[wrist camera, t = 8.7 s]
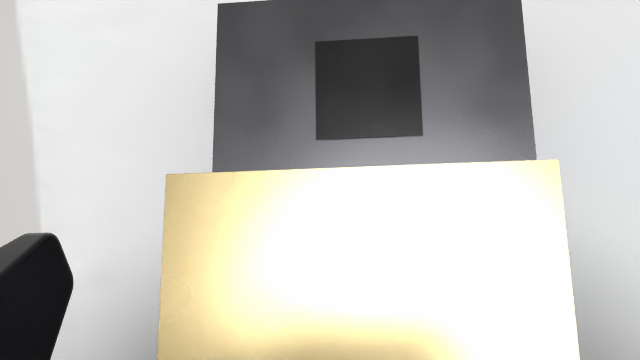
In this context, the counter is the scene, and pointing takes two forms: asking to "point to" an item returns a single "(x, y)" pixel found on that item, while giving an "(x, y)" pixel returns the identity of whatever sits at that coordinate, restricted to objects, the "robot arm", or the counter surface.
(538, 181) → the square bar
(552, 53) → the counter surface
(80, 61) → the counter surface
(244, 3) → the rack rail
